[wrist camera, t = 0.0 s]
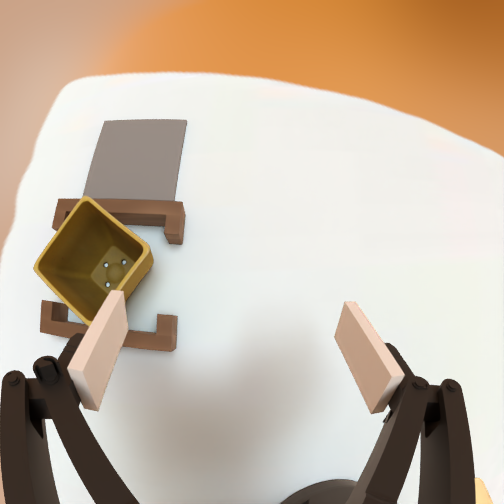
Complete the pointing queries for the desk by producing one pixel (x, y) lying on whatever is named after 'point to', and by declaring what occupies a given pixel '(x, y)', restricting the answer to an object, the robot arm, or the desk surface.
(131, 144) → the slate mat
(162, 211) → the pair of brown brackets
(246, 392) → the desk surface
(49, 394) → the robot arm
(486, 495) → the cone light
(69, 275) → the flower pot
